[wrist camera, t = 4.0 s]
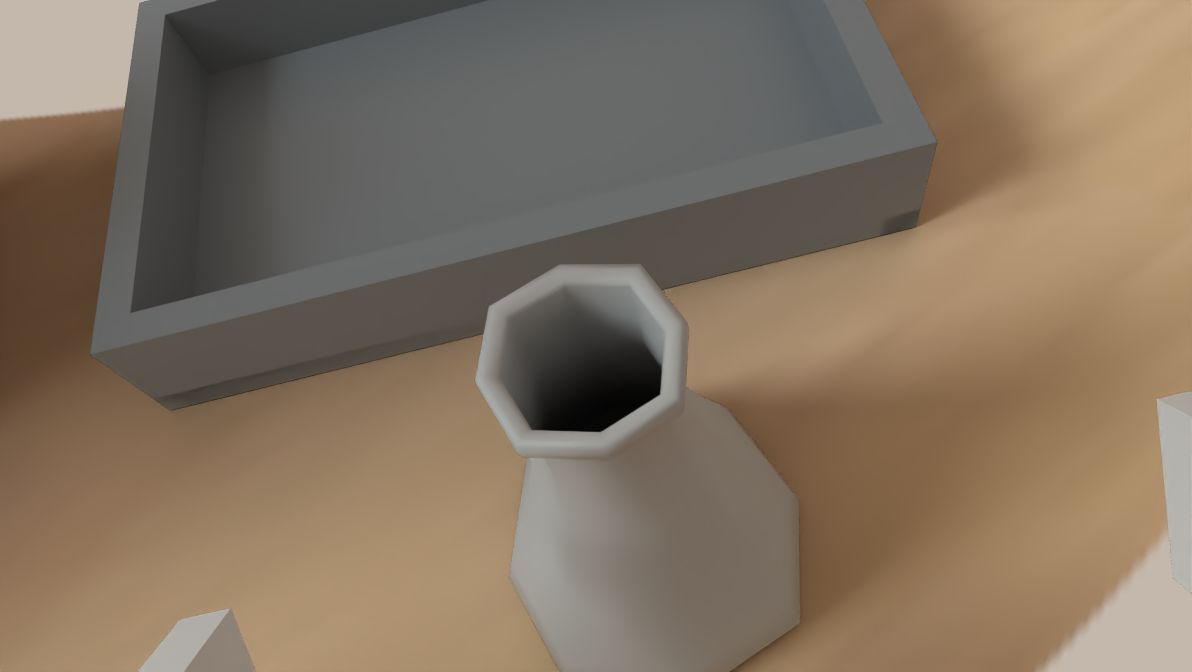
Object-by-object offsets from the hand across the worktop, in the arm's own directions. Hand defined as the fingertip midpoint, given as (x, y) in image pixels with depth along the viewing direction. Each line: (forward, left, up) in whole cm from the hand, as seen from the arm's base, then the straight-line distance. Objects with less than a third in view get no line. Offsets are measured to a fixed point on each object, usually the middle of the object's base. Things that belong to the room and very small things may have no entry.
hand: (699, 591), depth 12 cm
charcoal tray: (-3, +17, -8) cm, 19 cm away
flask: (-1, +3, -9) cm, 9 cm away
